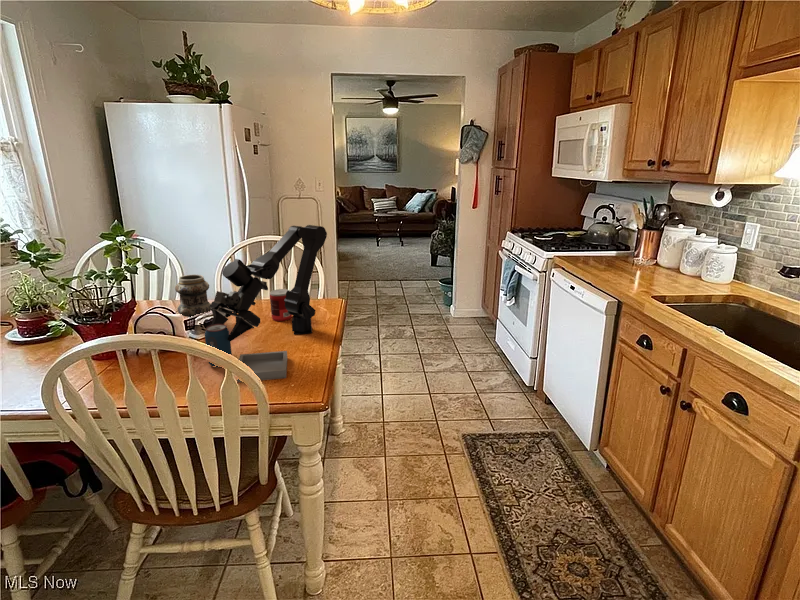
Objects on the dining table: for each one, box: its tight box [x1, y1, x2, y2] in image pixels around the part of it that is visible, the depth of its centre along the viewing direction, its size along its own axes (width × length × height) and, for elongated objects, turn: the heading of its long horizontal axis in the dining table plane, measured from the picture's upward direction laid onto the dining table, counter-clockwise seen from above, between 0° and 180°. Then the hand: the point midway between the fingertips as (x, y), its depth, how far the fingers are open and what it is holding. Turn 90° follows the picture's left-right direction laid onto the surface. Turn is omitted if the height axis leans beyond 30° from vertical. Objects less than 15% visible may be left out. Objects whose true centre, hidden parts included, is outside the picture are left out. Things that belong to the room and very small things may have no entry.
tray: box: [237, 350, 288, 383], centre depth 135 cm, size 14×14×2 cm
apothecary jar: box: [174, 274, 212, 318], centre depth 172 cm, size 12×12×18 cm
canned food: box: [269, 288, 293, 322], centre depth 178 cm, size 8×8×11 cm
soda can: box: [204, 323, 233, 368], centre depth 138 cm, size 7×7×12 cm
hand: (219, 337), depth 138 cm, fingers open, 9 cm apart
